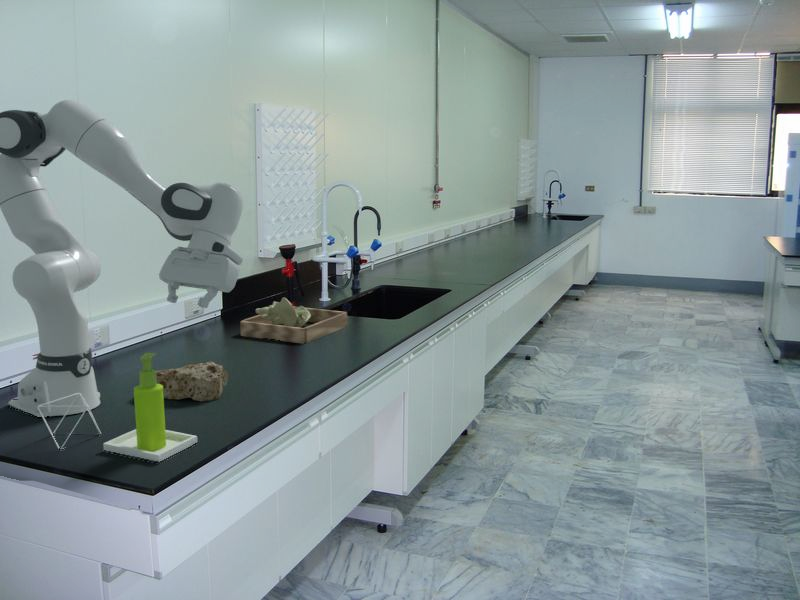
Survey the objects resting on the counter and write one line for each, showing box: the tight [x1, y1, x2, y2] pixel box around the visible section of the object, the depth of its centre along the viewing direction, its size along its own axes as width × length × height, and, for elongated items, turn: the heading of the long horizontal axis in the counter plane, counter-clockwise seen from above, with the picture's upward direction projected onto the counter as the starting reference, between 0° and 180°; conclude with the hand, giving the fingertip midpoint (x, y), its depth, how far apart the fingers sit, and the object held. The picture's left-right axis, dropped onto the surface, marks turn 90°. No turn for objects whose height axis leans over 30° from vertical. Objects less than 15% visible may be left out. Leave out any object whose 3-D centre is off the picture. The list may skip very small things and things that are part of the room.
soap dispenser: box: [133, 352, 166, 451], centre depth 162 cm, size 6×7×20 cm
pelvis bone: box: [254, 297, 311, 328], centre depth 273 cm, size 20×14×15 cm
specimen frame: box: [240, 305, 348, 345], centre depth 272 cm, size 26×30×5 cm
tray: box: [103, 428, 198, 462], centre depth 164 cm, size 15×12×2 cm
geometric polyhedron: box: [37, 393, 102, 450], centre depth 168 cm, size 12×11×9 cm
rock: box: [156, 361, 230, 402], centre depth 201 cm, size 21×14×10 cm
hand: (186, 304), depth 174 cm, fingers open, 8 cm apart
